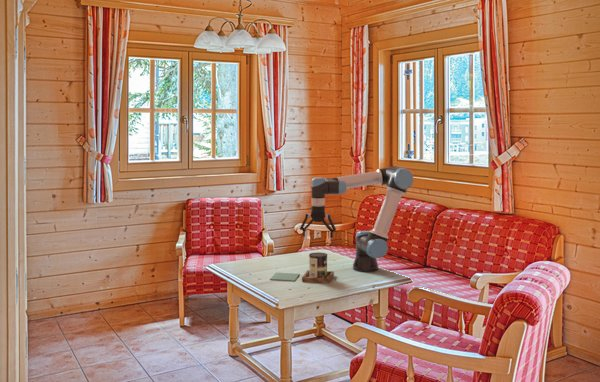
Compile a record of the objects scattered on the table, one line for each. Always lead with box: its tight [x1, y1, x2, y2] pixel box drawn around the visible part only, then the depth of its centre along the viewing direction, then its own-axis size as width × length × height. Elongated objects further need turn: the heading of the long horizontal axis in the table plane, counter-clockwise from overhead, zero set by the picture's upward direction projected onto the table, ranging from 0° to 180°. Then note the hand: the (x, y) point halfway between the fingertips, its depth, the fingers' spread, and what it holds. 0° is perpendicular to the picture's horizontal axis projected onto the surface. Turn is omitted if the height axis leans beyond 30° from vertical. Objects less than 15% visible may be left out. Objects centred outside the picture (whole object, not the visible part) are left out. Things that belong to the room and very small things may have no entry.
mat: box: [269, 272, 301, 282], centre depth 335 cm, size 14×14×1 cm
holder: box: [301, 269, 335, 284], centre depth 332 cm, size 15×15×2 cm
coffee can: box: [308, 251, 328, 278], centre depth 331 cm, size 10×10×14 cm
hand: (317, 242), depth 329 cm, fingers open, 13 cm apart
